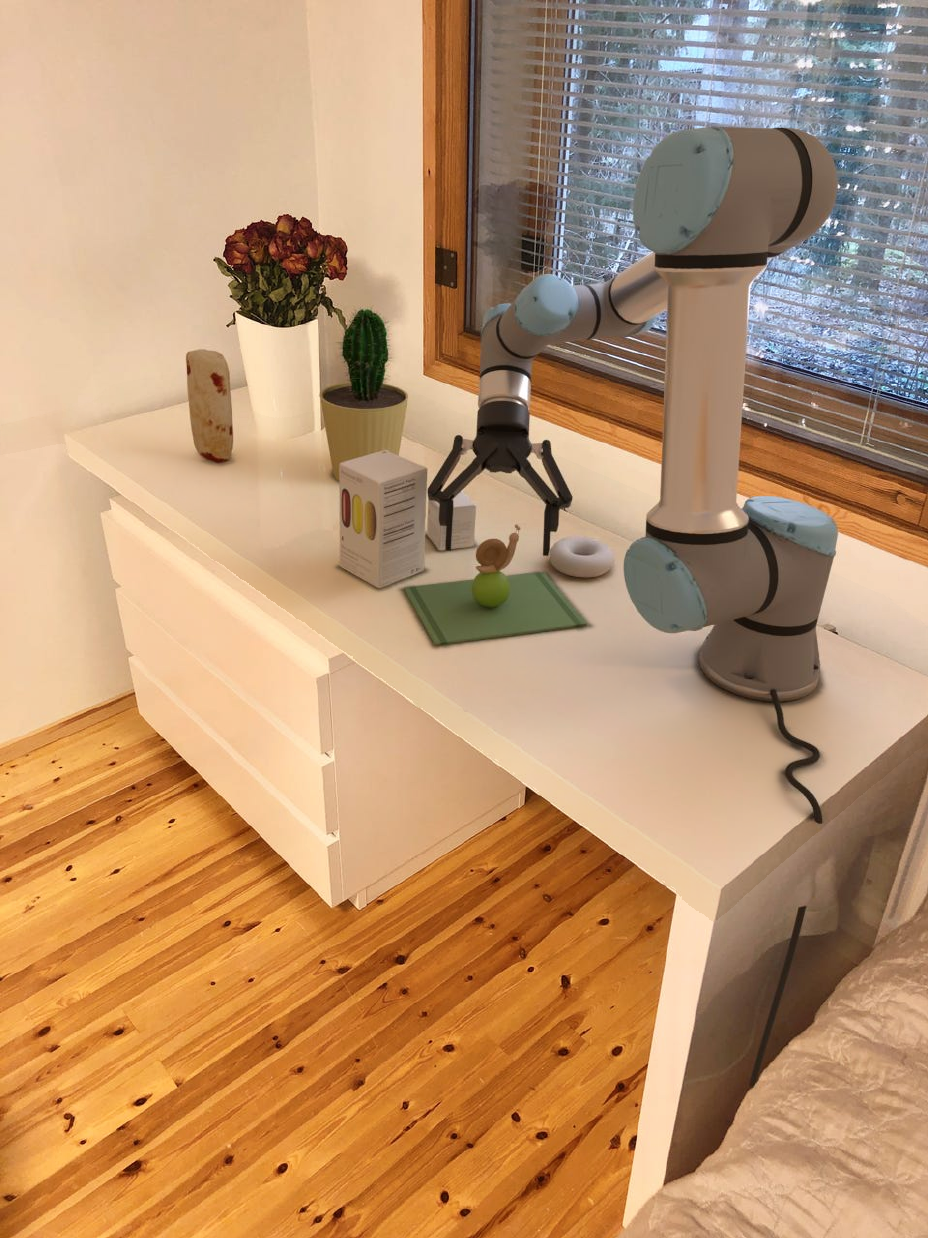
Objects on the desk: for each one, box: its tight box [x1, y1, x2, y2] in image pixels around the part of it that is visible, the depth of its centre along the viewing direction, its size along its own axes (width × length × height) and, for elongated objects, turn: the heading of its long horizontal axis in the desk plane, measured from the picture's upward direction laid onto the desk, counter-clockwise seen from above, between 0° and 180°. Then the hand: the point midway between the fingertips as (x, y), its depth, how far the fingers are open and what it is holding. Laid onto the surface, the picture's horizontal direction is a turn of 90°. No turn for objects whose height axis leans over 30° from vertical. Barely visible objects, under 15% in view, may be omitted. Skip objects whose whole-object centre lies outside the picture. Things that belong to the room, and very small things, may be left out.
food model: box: [185, 348, 234, 464], centre depth 187 cm, size 10×7×20 cm
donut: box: [548, 536, 615, 579], centre depth 160 cm, size 10×4×10 cm
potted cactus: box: [318, 305, 409, 482], centre depth 181 cm, size 15×15×30 cm
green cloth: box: [403, 571, 587, 646], centre depth 148 cm, size 16×22×1 cm
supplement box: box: [339, 450, 428, 589], centre depth 153 cm, size 10×9×17 cm
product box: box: [426, 490, 477, 552], centre depth 165 cm, size 6×6×7 cm
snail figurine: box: [472, 523, 521, 608], centre depth 145 cm, size 5×6×12 cm
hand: (497, 550), depth 144 cm, fingers open, 13 cm apart
